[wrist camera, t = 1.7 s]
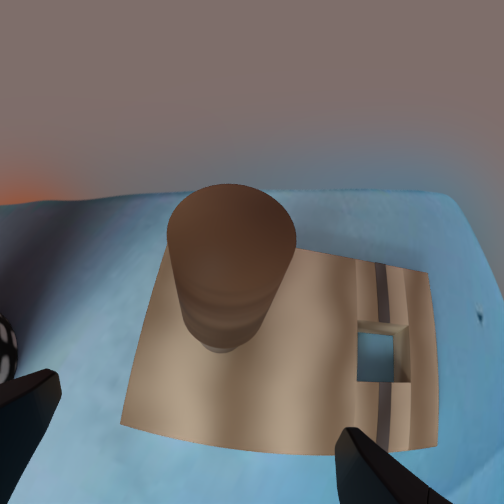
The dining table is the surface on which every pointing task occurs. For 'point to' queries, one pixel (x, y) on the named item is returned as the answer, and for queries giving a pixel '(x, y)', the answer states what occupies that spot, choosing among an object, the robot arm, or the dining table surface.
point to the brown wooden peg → (228, 261)
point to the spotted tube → (7, 351)
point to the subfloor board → (294, 365)
